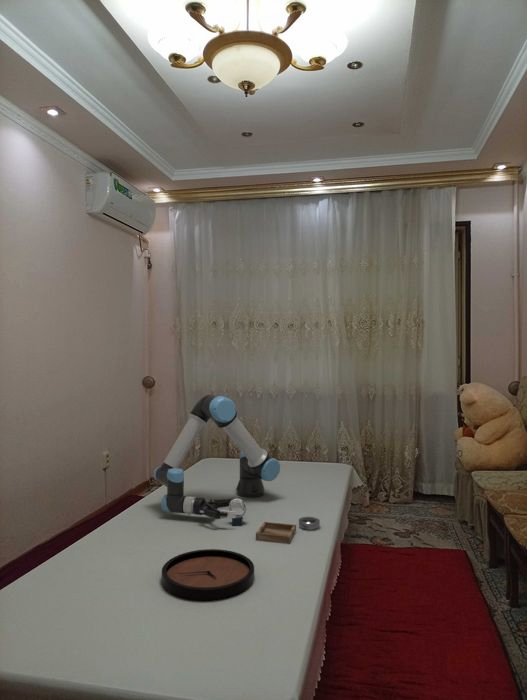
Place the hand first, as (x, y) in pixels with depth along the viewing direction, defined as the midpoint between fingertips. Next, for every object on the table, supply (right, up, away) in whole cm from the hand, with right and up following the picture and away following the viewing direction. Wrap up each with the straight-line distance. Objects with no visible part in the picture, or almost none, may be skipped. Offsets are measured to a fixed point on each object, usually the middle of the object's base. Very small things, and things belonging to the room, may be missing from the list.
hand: (240, 509), depth 228 cm
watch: (-1, -7, +1) cm, 7 cm away
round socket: (+30, -7, -3) cm, 31 cm away
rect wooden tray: (+16, -7, -13) cm, 21 cm away
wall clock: (-8, -8, -52) cm, 53 cm away
